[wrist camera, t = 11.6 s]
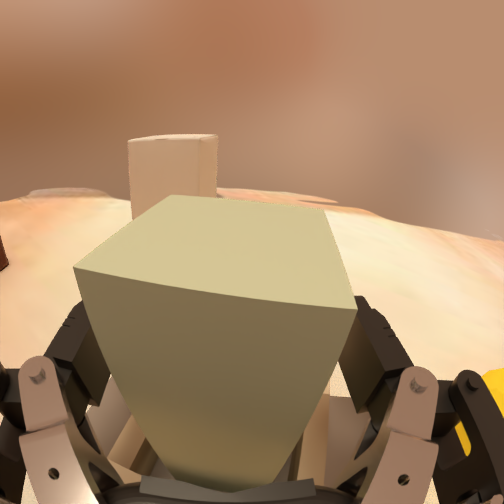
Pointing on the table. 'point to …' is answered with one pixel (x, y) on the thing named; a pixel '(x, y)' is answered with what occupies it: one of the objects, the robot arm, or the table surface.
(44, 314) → the table surface
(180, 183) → the supplement box
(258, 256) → the post
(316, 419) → the well board
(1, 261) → the letter holder
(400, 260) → the table surface
